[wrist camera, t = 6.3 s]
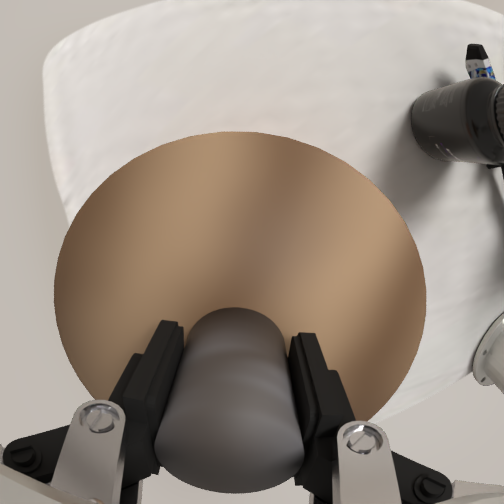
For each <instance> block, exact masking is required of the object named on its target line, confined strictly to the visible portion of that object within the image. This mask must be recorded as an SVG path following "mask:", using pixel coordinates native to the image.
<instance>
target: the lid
mask: <svg viewBox="0 0 504 504" xmlns="http://www.w3.org/2000/svg"><path fill="white" fill-rule="evenodd" d="M54 306H55V314H56V321H57V326H58V330H59V334H60V338H61V341H62V344H63V347H64V349H65V352H66V354H67V357H68V359H69V361H70V363H71V365H72V367H73V369H74V370H75V372H76V374H77V376H78V377H79V379H80V381H81V382H82V383H83V385H84V386H85V388H86V389H87V390H88V391H89V393H90V394H91V396H92V397H93V398H94V399H95V400H107V401H108V399H109V397H110V395H111V393H112V391H113V390H114V388H115V386H116V384H117V382H118V380H119V378H120V377H121V375H122V373H123V371H124V369H125V367H126V366H127V364H128V362H129V360H130V358H131V357H132V355H133V354H134V353H140V354H144V352H145V350H146V348H147V346H148V344H149V342H150V340H151V338H152V336H153V334H154V332H155V331H156V329H157V327H158V325H159V323H160V321H161V320H169V321H177V322H178V326H183V327H184V351H183V354H182V357H181V360H180V363H179V366H178V369H177V372H176V375H175V378H174V382H173V385H172V388H171V391H170V394H169V397H168V401H167V404H166V407H165V410H164V413H163V417H162V420H161V423H160V427H159V430H158V433H157V436H156V440H155V445H154V448H155V454H156V457H157V459H158V460H159V462H160V463H161V465H162V466H163V467H164V468H165V469H166V470H167V471H168V472H169V473H171V474H172V475H173V476H175V477H176V478H178V479H179V480H181V481H183V482H185V483H187V484H190V485H192V486H195V487H198V488H201V489H205V490H209V491H214V492H220V493H251V492H257V491H261V490H266V489H269V488H272V487H275V486H277V485H280V484H281V483H283V482H285V481H287V480H288V479H290V478H291V477H292V476H294V475H295V474H296V473H297V472H298V470H299V469H300V468H301V466H302V464H303V461H304V448H303V442H302V436H301V430H300V424H299V419H298V413H297V407H296V402H295V396H294V390H293V385H292V379H291V373H290V368H289V362H288V354H289V349H290V343H291V338H292V336H297V335H298V333H299V332H306V333H315V334H316V336H317V339H318V342H319V345H320V347H321V350H322V353H323V356H324V359H325V362H326V364H327V367H328V370H337V372H338V374H339V376H340V379H341V381H342V384H343V387H344V389H345V392H346V394H347V397H348V400H349V402H350V405H351V408H352V410H353V413H354V416H355V419H356V421H366V422H367V421H368V420H369V419H371V418H372V417H373V416H374V415H375V414H376V413H377V412H378V411H379V410H380V409H381V408H382V407H383V406H384V405H385V404H386V403H387V402H388V400H389V399H390V398H391V397H392V395H393V394H394V393H395V392H396V390H397V389H398V387H399V386H400V384H401V383H402V381H403V380H404V378H405V376H406V375H407V373H408V371H409V369H410V367H411V365H412V363H413V360H414V358H415V356H416V354H417V351H418V347H419V344H420V341H421V338H422V334H423V329H424V322H425V316H426V285H425V278H424V271H423V266H422V263H421V259H420V256H419V253H418V250H417V247H416V244H415V242H414V240H413V238H412V235H411V233H410V231H409V229H408V227H407V225H406V223H405V222H404V220H403V219H402V217H401V216H400V214H399V213H398V212H397V210H396V209H395V207H394V206H393V204H392V203H391V202H390V200H389V199H388V198H387V197H386V196H385V195H384V194H383V193H382V192H381V191H380V190H379V189H378V188H377V187H376V186H375V185H374V184H373V183H372V182H371V181H370V180H369V179H368V178H366V177H365V176H364V175H362V174H361V173H360V172H358V171H357V170H356V169H354V168H353V167H352V166H350V165H349V164H347V163H346V162H344V161H342V160H341V159H339V158H337V157H335V156H333V155H331V154H329V153H327V152H325V151H323V150H321V149H319V148H317V147H314V146H311V145H308V144H305V143H302V142H299V141H296V140H293V139H290V138H287V137H281V136H275V135H270V134H264V133H258V132H217V133H209V134H202V135H196V136H190V137H187V138H183V139H180V140H177V141H173V142H170V143H167V144H164V145H161V146H159V147H157V148H155V149H152V150H150V151H148V152H146V153H144V154H142V155H140V156H138V157H136V158H134V159H133V160H131V161H130V162H128V163H127V164H126V165H124V166H123V167H121V168H120V169H118V170H117V171H116V172H114V173H113V174H112V175H110V176H109V177H108V178H107V179H106V180H105V181H104V182H103V183H102V184H101V185H100V186H99V187H98V188H97V189H96V190H95V191H94V192H93V193H92V194H91V195H90V197H89V198H88V199H87V201H86V202H85V203H84V205H83V206H82V208H81V209H80V210H79V212H78V213H77V214H76V216H75V218H74V220H73V222H72V224H71V226H70V228H69V230H68V232H67V234H66V236H65V239H64V242H63V245H62V248H61V251H60V254H59V257H58V262H57V267H56V273H55V280H54Z"/></svg>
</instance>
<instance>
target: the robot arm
mask: <svg viewBox="0 0 504 504" xmlns="http://www.w3.org/2000/svg"><path fill="white" fill-rule="evenodd" d="M183 351H184V327H183V326H178V322H177V321H169V320H161V321H160V323H159V325H158V327H157V329H156V331H155V332H154V334H153V336H152V338H151V340H150V342H149V344H148V346H147V348H146V350H145V352H144V354H140V353H134V354H133V355H132V357H131V358H130V360H129V362H128V364H127V366H126V367H125V369H124V371H123V373H122V375H121V377H120V378H119V380H118V382H117V384H116V386H115V388H114V390H113V391H112V393H111V395H110V397H109V399H108V401H107V400H93V401H88V402H86V403H84V404H82V405H81V406H80V407H78V408H77V410H76V412H75V413H74V416H73V418H72V421H71V424H70V425H67V426H64V427H60V428H57V429H53V430H50V431H46V432H43V433H39V434H35V435H32V436H28V437H24V438H20V439H17V440H14V441H12V442H11V443H9V444H8V445H7V447H6V448H3V447H2V445H1V444H0V504H141V499H142V485H143V480H142V479H145V478H147V477H149V476H151V474H156V475H158V473H159V469H160V466H161V467H163V466H162V465H161V463H160V462H159V460H158V459H157V457H156V454H155V448H154V445H155V440H156V436H157V433H158V430H159V427H160V423H161V420H162V417H163V413H164V410H165V407H166V404H167V401H168V397H169V394H170V391H171V388H172V385H173V382H174V378H175V375H176V372H177V369H178V366H179V363H180V360H181V357H182V354H183ZM288 362H289V368H290V373H291V379H292V385H293V390H294V396H295V402H296V407H297V413H298V419H299V424H300V430H301V436H302V442H303V448H304V461H303V464H302V466H301V468H300V469H299V470H298V472H297V473H296V474H295V475H294V476H292V477H294V480H295V485H296V486H299V485H303V488H304V489H306V490H308V491H309V492H310V497H309V504H504V486H501V485H492V484H482V483H474V482H466V481H458V480H455V481H454V482H453V483H451V482H450V480H449V479H448V478H447V477H446V476H445V475H443V474H442V473H440V472H438V471H435V470H433V469H431V468H428V467H426V466H424V465H421V464H419V463H417V462H415V461H412V460H410V459H408V458H406V457H404V456H402V455H399V454H397V453H395V452H393V451H391V449H390V445H389V441H388V438H387V436H386V433H385V432H384V431H383V430H382V429H381V428H380V427H378V426H377V425H375V424H373V423H370V422H366V421H356V419H355V416H354V413H353V410H352V408H351V405H350V402H349V400H348V397H347V394H346V392H345V389H344V387H343V384H342V381H341V379H340V376H339V374H338V372H337V370H328V367H327V364H326V362H325V359H324V356H323V353H322V350H321V347H320V345H319V342H318V339H317V336H316V334H315V333H306V332H299V333H298V335H297V336H292V338H291V343H290V349H289V354H288ZM473 375H474V377H475V379H476V380H477V381H478V383H479V384H481V385H483V386H489V385H492V384H495V385H496V386H497V387H498V388H499V389H500V390H501V392H502V393H503V394H504V313H503V314H502V315H501V316H500V317H499V318H498V319H497V320H496V321H495V322H494V324H493V325H492V326H491V327H490V329H489V330H488V331H487V333H486V334H485V336H484V338H483V340H482V341H481V343H480V345H479V347H478V350H477V352H476V355H475V358H474V363H473Z"/></svg>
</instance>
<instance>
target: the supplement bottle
mask: <svg viewBox="0 0 504 504" xmlns="http://www.w3.org/2000/svg"><path fill="white" fill-rule="evenodd" d="M411 122H412V129H413V132H414V135H415V138H416V140H417V142H418V143H419V145H420V146H421V148H422V149H423V150H424V151H425V152H426V153H427V154H428V155H430V156H431V157H433V158H435V159H438V160H443V161H455V162H468V163H480V164H490V165H503V164H504V84H503V85H502V84H501V83H499V82H498V81H496V80H494V79H492V78H489V77H476V78H472V79H468V80H465V81H461V82H457V83H454V84H450V85H447V86H444V87H440V88H437V89H434V90H431V91H428V92H426V93H424V94H422V95H421V96H420V97H419V98H418V99H417V100H416V102H415V104H414V106H413V109H412V115H411Z"/></svg>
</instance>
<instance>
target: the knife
mask: <svg viewBox="0 0 504 504" xmlns="http://www.w3.org/2000/svg"><path fill="white" fill-rule="evenodd" d="M466 69H467V71H468V74H469V76H470V78H471V79H472V78H476V77H489V78H492V79H494V80H496V79H495V76H494V73H493V70H492V67H491V64H490V61H489V58H488V56H487V54H486V52H485V50H484V48H483V46H482V45H479V44H469V45H468V47H467V54H466ZM486 165H487V167H488V169H491V168H496V167H501V168H502V173H503V178H504V164H503V165H490V164H486Z"/></svg>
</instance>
